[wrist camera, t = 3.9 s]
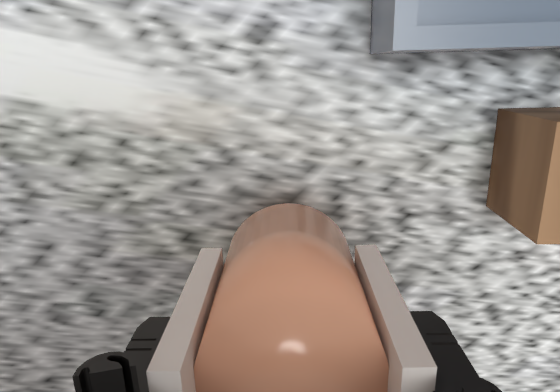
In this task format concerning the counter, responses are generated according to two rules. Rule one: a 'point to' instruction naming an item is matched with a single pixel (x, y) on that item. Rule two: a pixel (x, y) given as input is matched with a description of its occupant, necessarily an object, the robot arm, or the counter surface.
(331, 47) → the counter surface
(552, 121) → the walnut cube
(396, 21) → the tote
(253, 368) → the peach rounded cylinder
